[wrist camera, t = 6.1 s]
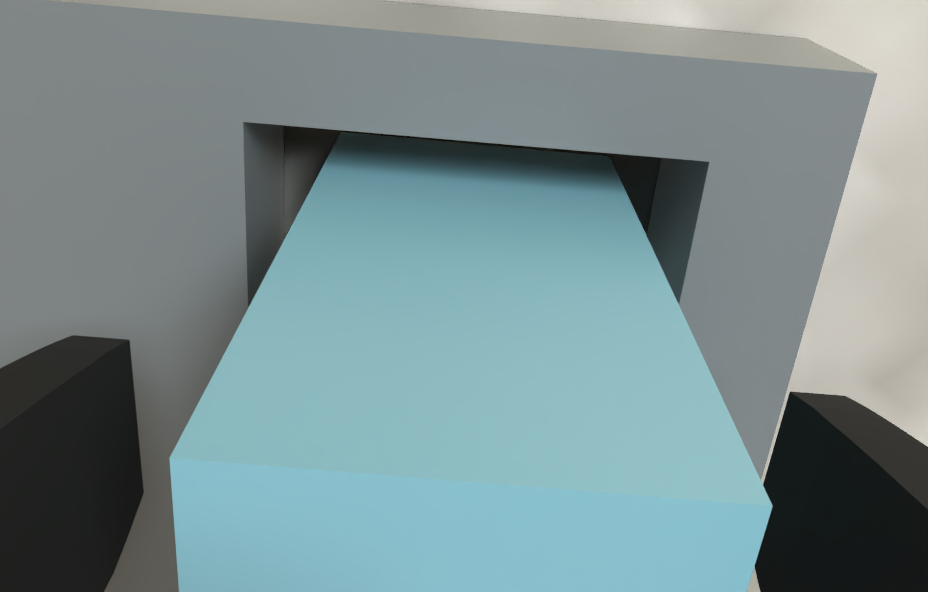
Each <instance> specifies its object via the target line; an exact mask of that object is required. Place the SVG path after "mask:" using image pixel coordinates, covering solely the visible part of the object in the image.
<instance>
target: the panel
mask: <svg viewBox="0 0 928 592" xmlns="http://www.w3.org/2000/svg"><path fill="white" fill-rule="evenodd" d="M876 76H877V73H875V72H873V71H871V70H869V69H867V68H865V67H863V66H861V65H859V64H857V63H855V62H853V61H851V60H849V59H847V58H845V57H843V56H840V55H838V54H836V53H834V52H832V51H830V50H828V49H826V48H824V47H822V46H820V45H818V44H816V43H814V42H812V41H810V40H808V39H806V38H795V37H784V36H773V35H762V34H751V33H739V32H728V31H717V30H706V29H695V28H684V27H672V26H661V25H650V24H639V23H628V22H617V21H605V20H594V19H583V18H572V17H561V16H549V15H538V14H527V13H516V12H505V11H494V10H482V9H471V8H460V7H449V6H438V5H426V4H415V3H404V2H393V1H382V0H0V368H2V367H4V366H6V365H8V364H10V363H12V362H14V361H16V360H18V359H20V358H22V357H24V356H26V355H28V354H30V353H32V352H34V351H36V350H39V349H41V348H43V347H45V346H47V345H50V344H52V343H54V342H56V341H59V340H62V339H64V338H67V337H69V336H72V335H77V336H89V337H102V338H115V339H127V340H130V350H131V361H132V371H133V382H134V393H135V403H136V414H137V425H138V436H139V446H140V457H141V468H142V479H143V489H144V494H143V496H142V499H141V502H140V505H139V507H138V510H137V513H136V516H135V518H134V521H133V524H132V527H131V530H130V532H129V535H128V538H127V540H126V543H125V545H124V548H123V550H122V553H121V556H120V558H119V561H118V563H117V566H116V568H115V571H114V573H113V575H112V577H111V579H110V581H109V583H108V585H107V587H106V589H105V591H104V592H179V585H178V571H177V557H176V543H175V529H174V515H173V501H172V487H171V473H170V459H169V458H170V456H171V454H172V452H173V450H174V448H175V446H176V445H177V443H178V441H179V439H180V437H181V435H182V433H183V431H184V429H185V427H186V426H187V424H188V422H189V420H190V418H191V416H192V414H193V412H194V410H195V408H196V407H197V405H198V403H199V401H200V399H201V397H202V395H203V393H204V391H205V389H206V388H207V386H208V384H209V382H210V380H211V378H212V376H213V374H214V372H215V370H216V369H217V367H218V365H219V363H220V361H221V359H222V357H223V355H224V353H225V351H226V350H227V348H228V346H229V344H230V342H231V340H232V338H233V336H234V334H235V332H236V331H237V329H238V327H239V325H240V323H241V321H242V319H243V317H244V315H245V313H246V312H247V310H248V308H249V306H250V304H251V302H252V300H253V298H254V296H255V294H256V293H257V291H258V289H259V287H260V285H261V283H262V281H263V279H264V277H265V275H266V274H267V272H268V270H269V268H270V266H271V264H272V262H273V260H274V258H275V256H276V255H277V253H278V251H279V249H280V247H281V245H282V243H283V241H284V153H283V125H285V126H297V127H308V128H320V129H332V130H343V131H355V132H367V133H379V134H390V135H402V136H414V137H425V138H437V139H449V140H460V141H472V142H484V143H496V144H507V145H519V146H531V147H542V148H554V149H566V150H577V151H589V152H601V153H612V154H624V155H636V156H648V157H659V158H661V162H660V167H659V172H658V178H657V183H656V188H655V194H654V199H653V204H652V210H651V215H650V220H649V226H648V231H647V238H648V240H649V242H650V244H651V246H652V249H653V251H654V253H655V255H656V257H657V259H658V261H659V263H660V266H661V268H662V270H663V272H664V274H665V276H666V278H667V281H668V283H669V285H670V287H671V289H672V291H673V293H674V296H675V298H676V300H677V302H678V304H679V306H680V308H681V311H682V313H683V315H684V317H685V319H686V321H687V323H688V326H689V328H690V330H691V332H692V334H693V336H694V338H695V341H696V343H697V345H698V347H699V349H700V351H701V353H702V356H703V358H704V360H705V362H706V364H707V366H708V368H709V371H710V373H711V375H712V377H713V379H714V381H715V383H716V386H717V388H718V390H719V392H720V394H721V396H722V398H723V401H724V403H725V405H726V407H727V409H728V411H729V413H730V416H731V418H732V420H733V422H734V424H735V426H736V428H737V431H738V433H739V435H740V437H741V439H742V441H743V443H744V446H745V448H746V450H747V452H748V454H749V456H750V458H751V461H752V463H753V465H754V467H755V469H756V471H757V473H758V476H759V478H760V480H761V478H762V475H763V471H764V468H765V464H766V461H767V457H768V454H769V450H770V447H771V443H772V440H773V436H774V433H775V429H776V426H777V422H778V419H779V415H780V412H781V408H782V405H783V401H784V398H785V394H786V391H787V387H788V384H789V380H790V377H791V373H792V370H793V366H794V363H795V359H796V356H797V352H798V349H799V345H800V342H801V338H802V335H803V331H804V328H805V324H806V321H807V317H808V314H809V310H810V307H811V303H812V300H813V296H814V293H815V289H816V286H817V282H818V279H819V275H820V272H821V268H822V265H823V261H824V258H825V254H826V251H827V247H828V244H829V240H830V237H831V233H832V230H833V226H834V223H835V220H836V216H837V213H838V209H839V206H840V202H841V199H842V195H843V192H844V188H845V185H846V181H847V178H848V174H849V171H850V167H851V164H852V160H853V157H854V153H855V150H856V146H857V143H858V139H859V136H860V132H861V129H862V125H863V122H864V118H865V115H866V111H867V108H868V104H869V101H870V97H871V94H872V90H873V87H874V83H875V80H876Z"/></svg>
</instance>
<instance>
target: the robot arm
mask: <svg viewBox="0 0 928 592" xmlns="http://www.w3.org/2000/svg"><path fill="white" fill-rule="evenodd" d="M763 486H764V488H765V491H766V493H767V495H768V497H769V499H770V501H771V503H772V506H773V507H772V510H771V513H770V517H769V520H768V523H767V527H766V530H765V533H764V537H763V540H762V543H761V546H760V550H759V553H758V556H757V560H756V563H755V570H756V575H757V579H758V583H759V587H760V591H761V592H928V447H927V446H925V445H924V444H922V443H921V442H919V441H918V440H916V439H915V438H913V437H912V436H910V435H909V434H907V433H906V432H904V431H903V430H901V429H900V428H898V427H897V426H895V425H894V424H892V423H891V422H889V421H887V420H886V419H884V418H883V417H881V416H880V415H878V414H876V413H875V412H873V411H871V410H870V409H868V408H866V407H865V406H863V405H861V404H859V403H857V402H856V401H854V400H852V399H850V398H848V397H846V396H838V395H825V394H813V393H800V392H790V394H789V397H788V401H787V404H786V408H785V411H784V415H783V418H782V421H781V425H780V428H779V432H778V435H777V439H776V442H775V446H774V449H773V453H772V456H771V460H770V463H769V467H768V470H767V473H766V477H765V480H764V484H763ZM143 494H144V489H143V479H142V468H141V457H140V446H139V436H138V425H137V414H136V403H135V393H134V382H133V371H132V361H131V350H130V340H127V339H115V338H102V337H89V336H77V335H72V336H69V337H67V338H64V339H62V340H59V341H56V342H54V343H52V344H50V345H47V346H45V347H43V348H41V349H39V350H36V351H34V352H32V353H30V354H28V355H26V356H24V357H22V358H20V359H18V360H16V361H14V362H12V363H10V364H8V365H6V366H4V367H2V368H0V592H104V591H105V589H106V587H107V585H108V583H109V581H110V579H111V577H112V575H113V573H114V571H115V568H116V566H117V563H118V561H119V558H120V556H121V553H122V550H123V548H124V545H125V543H126V540H127V538H128V535H129V532H130V530H131V527H132V524H133V521H134V518H135V516H136V513H137V510H138V507H139V505H140V502H141V499H142V496H143Z"/></svg>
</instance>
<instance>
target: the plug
mask: <svg viewBox="0 0 928 592" xmlns="http://www.w3.org/2000/svg"><path fill="white" fill-rule="evenodd" d="M169 459H170V473H171V487H172V501H173V515H174V529H175V543H176V557H177V571H178V585H179V592H747V589H748V586H749V583H750V579H751V576H752V573H753V569H754V566H755V563H756V560H757V556H758V553H759V550H760V546H761V543H762V540H763V537H764V533H765V530H766V527H767V523H768V520H769V517H770V513H771V510H772V507H773V506H772V503H771V501H770V499H769V497H768V495H767V493H766V491H765V488H764V486H763V484H762V482H761V480H760V478H759V476H758V473H757V471H756V469H755V467H754V465H753V463H752V461H751V458H750V456H749V454H748V452H747V450H746V448H745V446H744V443H743V441H742V439H741V437H740V435H739V433H738V431H737V428H736V426H735V424H734V422H733V420H732V418H731V416H730V413H729V411H728V409H727V407H726V405H725V403H724V401H723V398H722V396H721V394H720V392H719V390H718V388H717V386H716V383H715V381H714V379H713V377H712V375H711V373H710V371H709V368H708V366H707V364H706V362H705V360H704V358H703V356H702V353H701V351H700V349H699V347H698V345H697V343H696V341H695V338H694V336H693V334H692V332H691V330H690V328H689V326H688V323H687V321H686V319H685V317H684V315H683V313H682V311H681V308H680V306H679V304H678V302H677V300H676V298H675V296H674V293H673V291H672V289H671V287H670V285H669V283H668V281H667V278H666V276H665V274H664V272H663V270H662V268H661V266H660V263H659V261H658V259H657V257H656V255H655V253H654V251H653V249H652V246H651V244H650V242H649V240H648V238H647V236H646V234H645V231H644V229H643V227H642V225H641V223H640V221H639V219H638V216H637V214H636V212H635V210H634V208H633V206H632V204H631V201H630V199H629V197H628V195H627V193H626V191H625V189H624V186H623V184H622V182H621V180H620V178H619V176H618V174H617V171H616V169H615V167H614V165H613V163H612V161H611V159H610V156H600V155H589V154H578V153H567V152H556V151H545V150H534V149H523V148H511V147H500V146H489V145H478V144H467V143H456V142H445V141H433V140H422V139H411V138H400V137H389V136H378V135H367V134H356V133H344V132H341V133H340V135H339V137H338V139H337V140H336V142H335V144H334V146H333V148H332V150H331V152H330V154H329V156H328V158H327V159H326V161H325V163H324V165H323V167H322V169H321V171H320V173H319V175H318V177H317V178H316V180H315V182H314V184H313V186H312V188H311V190H310V192H309V194H308V196H307V197H306V199H305V201H304V203H303V205H302V207H301V209H300V211H299V213H298V215H297V217H296V218H295V220H294V222H293V224H292V226H291V228H290V230H289V232H288V234H287V236H286V237H285V239H284V241H283V243H282V245H281V247H280V249H279V251H278V253H277V255H276V256H275V258H274V260H273V262H272V264H271V266H270V268H269V270H268V272H267V274H266V275H265V277H264V279H263V281H262V283H261V285H260V287H259V289H258V291H257V293H256V294H255V296H254V298H253V300H252V302H251V304H250V306H249V308H248V310H247V312H246V313H245V315H244V317H243V319H242V321H241V323H240V325H239V327H238V329H237V331H236V332H235V334H234V336H233V338H232V340H231V342H230V344H229V346H228V348H227V350H226V351H225V353H224V355H223V357H222V359H221V361H220V363H219V365H218V367H217V369H216V370H215V372H214V374H213V376H212V378H211V380H210V382H209V384H208V386H207V388H206V389H205V391H204V393H203V395H202V397H201V399H200V401H199V403H198V405H197V407H196V408H195V410H194V412H193V414H192V416H191V418H190V420H189V422H188V424H187V426H186V427H185V429H184V431H183V433H182V435H181V437H180V439H179V441H178V443H177V445H176V446H175V448H174V450H173V452H172V454H171V456H170V458H169Z"/></svg>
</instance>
